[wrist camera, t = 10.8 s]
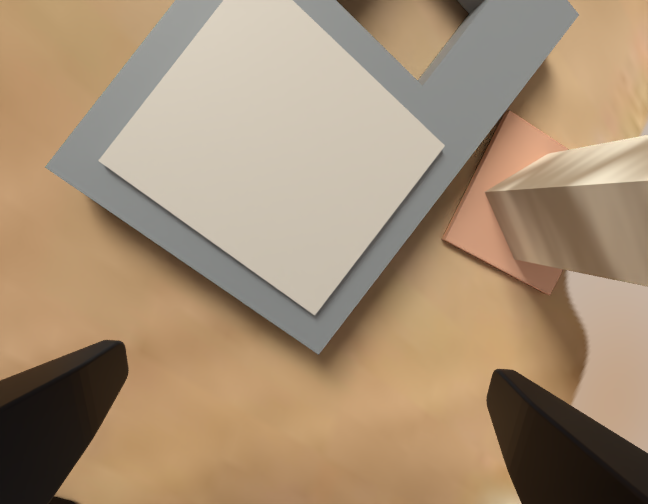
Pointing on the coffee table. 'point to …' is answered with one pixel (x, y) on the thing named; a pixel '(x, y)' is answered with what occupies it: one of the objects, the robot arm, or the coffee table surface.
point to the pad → (476, 212)
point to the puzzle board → (296, 142)
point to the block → (580, 210)
